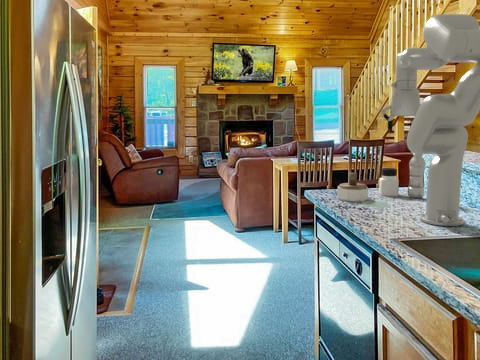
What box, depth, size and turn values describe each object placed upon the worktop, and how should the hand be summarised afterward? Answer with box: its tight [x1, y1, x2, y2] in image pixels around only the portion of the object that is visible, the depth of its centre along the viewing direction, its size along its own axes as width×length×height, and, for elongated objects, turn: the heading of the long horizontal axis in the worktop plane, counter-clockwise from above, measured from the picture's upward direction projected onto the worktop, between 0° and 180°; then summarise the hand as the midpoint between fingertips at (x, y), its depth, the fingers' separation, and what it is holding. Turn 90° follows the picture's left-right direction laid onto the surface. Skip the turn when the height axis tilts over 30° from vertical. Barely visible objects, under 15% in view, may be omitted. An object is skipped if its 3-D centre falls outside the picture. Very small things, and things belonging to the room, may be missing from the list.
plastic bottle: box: [406, 152, 427, 199], centre depth 167 cm, size 6×7×20 cm
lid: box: [338, 172, 368, 190], centre depth 167 cm, size 11×11×6 cm
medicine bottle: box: [378, 167, 400, 197], centre depth 176 cm, size 7×7×12 cm
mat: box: [360, 200, 391, 208], centre depth 156 cm, size 10×10×1 cm
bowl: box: [337, 185, 369, 202], centre depth 168 cm, size 12×12×5 cm
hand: (403, 131), depth 155 cm, fingers open, 9 cm apart
